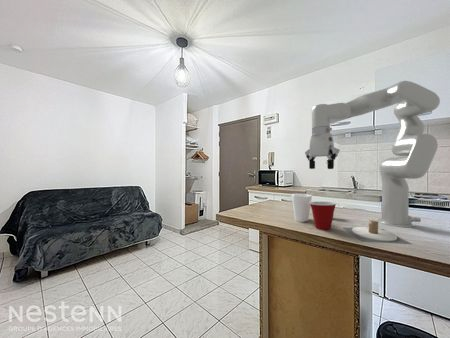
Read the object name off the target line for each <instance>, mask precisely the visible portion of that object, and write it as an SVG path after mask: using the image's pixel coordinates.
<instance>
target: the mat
mask: <svg viewBox="0 0 450 338" xmlns="http://www.w3.org/2000/svg"><path fill="white" fill-rule="evenodd" d="M342 228H343V229H344V230H346V231H347V232H349V234H351V235H352V236H354V237H355V238H356V239H358V241H361V242H367V243H369V242H370V243H381V244H382V243H383V244H384V243H385V244H386V243H387V244H400V245H402V244H403V245H412V243H411V242H410V241H408V240H405V239H403V238H401V237H399V236H398V235H396V236H397V240H396V241H389V242H387V241H376V240H371V239H366V238H363V237H360V236H357V235H355V234H354V233H353V232H352V229H353V228H354V227H347V226H346V227H343V226H342ZM380 229H381V230H385V231H387V230H386V229H384V228H380Z"/></svg>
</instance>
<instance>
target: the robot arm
mask: <svg viewBox="0 0 450 338" xmlns="http://www.w3.org/2000/svg"><path fill="white" fill-rule="evenodd" d="M440 104H441V100H440V97H439V95H438V94H437V93H436V92H435V91H433V90H431V89H428V88H427V87H425V86H422V85H421V84H418V83H415V82H413V81H408V80H402V81H399V82H396V83H395V84H392V85H390V86H387V87H385V88H383V89H379V90H376V91H373V92H369V93H367V94H362V95H361V96H358V97H356V98H354V99H352V100H350V101H348V102H335V103H331V104H327V103H320V104H315V105H313V107H312V108H311V135H310V140H309V149H307V150H306V151H305V152H304V153H305V156H306V159H307V161H309V168H308V169H310V170H315V169H316V161H315V159H316V157H326V158H327V169H328V170H334V167H335V160H336V158H337V157H338V156H339V155H338V154H339V153H340V151H341V150H340V149H339V148H337V147H335V143H334V138H333V135H332V133H331V131H333V128H332V127H331V126H330V125H331V124H334V123H338V122H341V121H345V120H348V119H350V118H353V117H358V116H363V115H366V114H368V113H369V114H370V113H371V112H375V111H379V110H381V109H382V110H383V109H386V108H388V107H391V106H394V105H395V106H394V108H393V114H394V116H395V117H396V118H397V120H398V122H399V128H398V129H399V130H398V132H397V135H396V136H395V139H394V141H393V144H392V147H391V152H392V154H393V155H394V156H397V157H388V158H385V159H383V161H381V162H380V165H379V173H380V177H381V217H380V218H377V221H378V223H380V224H383V225H387V226H391V227H397V228H413V227H414V225H413V222H415V223H420V222H421V220H422V219H421V218H420V217H417V216H416V217H413V216H410V215H409V202H410V201H409V194H410V193H409V191H410V189H409V183H408V181H407V180H406V179H408V180H410V179H411V180H412V179H413V180H416V179H420V178H422V177H424V176H425V175H426V174H427V172H428V171H429V168H430V167H431V164H432V163H433V160H434V159H435V158H434V157H435V155H436V154H437V153H436V152H437V150H438V140H437V138H436V137H435V135H432V134H431V133H424V131H425V124H424V122H423V121H422V120H421V119H420V117H419V115H423V114H427V113H430V112H432V111H434V110H436V109H438V107H439V105H440Z"/></svg>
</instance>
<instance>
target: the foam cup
mask: <svg viewBox="0 0 450 338" xmlns="http://www.w3.org/2000/svg"><path fill="white" fill-rule="evenodd" d="M291 200H292V201H291V202H292V208H293V214H294V215H293V216H294V217H293V218H294V221H296V222H299V223H305V222H308V221H309V218H310V210H311V205H310V204H309V202H312V200H313V199H312V194H307V193H291Z"/></svg>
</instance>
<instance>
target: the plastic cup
mask: <svg viewBox="0 0 450 338" xmlns="http://www.w3.org/2000/svg"><path fill="white" fill-rule="evenodd" d="M309 204H310V210H311V211H312V217H313V221H314V222H313V223H314V227H315V228H316V229H317V230H321V231H329V230H331V229H332V228H331V227H332V223H333V220H334V215H335V214H334V212H335V208H336V205H337V204H338V203H337V202H333V201H311V202H309ZM333 214H334V215H333Z"/></svg>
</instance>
